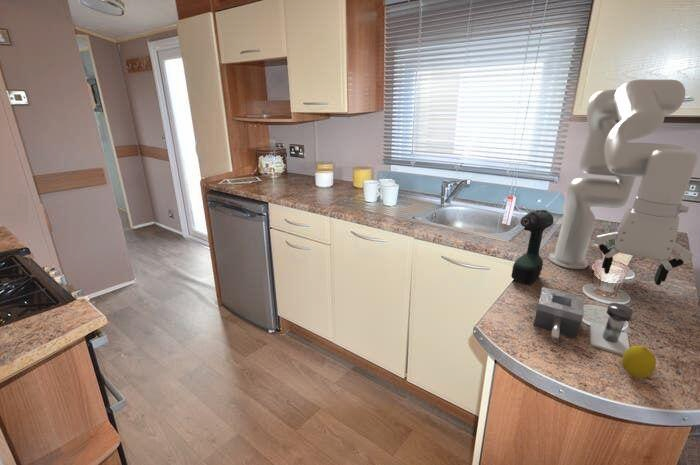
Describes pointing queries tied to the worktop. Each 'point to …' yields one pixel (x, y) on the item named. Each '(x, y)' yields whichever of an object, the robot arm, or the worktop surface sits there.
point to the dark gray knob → (616, 321)
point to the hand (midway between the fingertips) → (630, 276)
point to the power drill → (532, 247)
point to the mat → (601, 343)
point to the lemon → (639, 361)
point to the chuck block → (559, 313)
